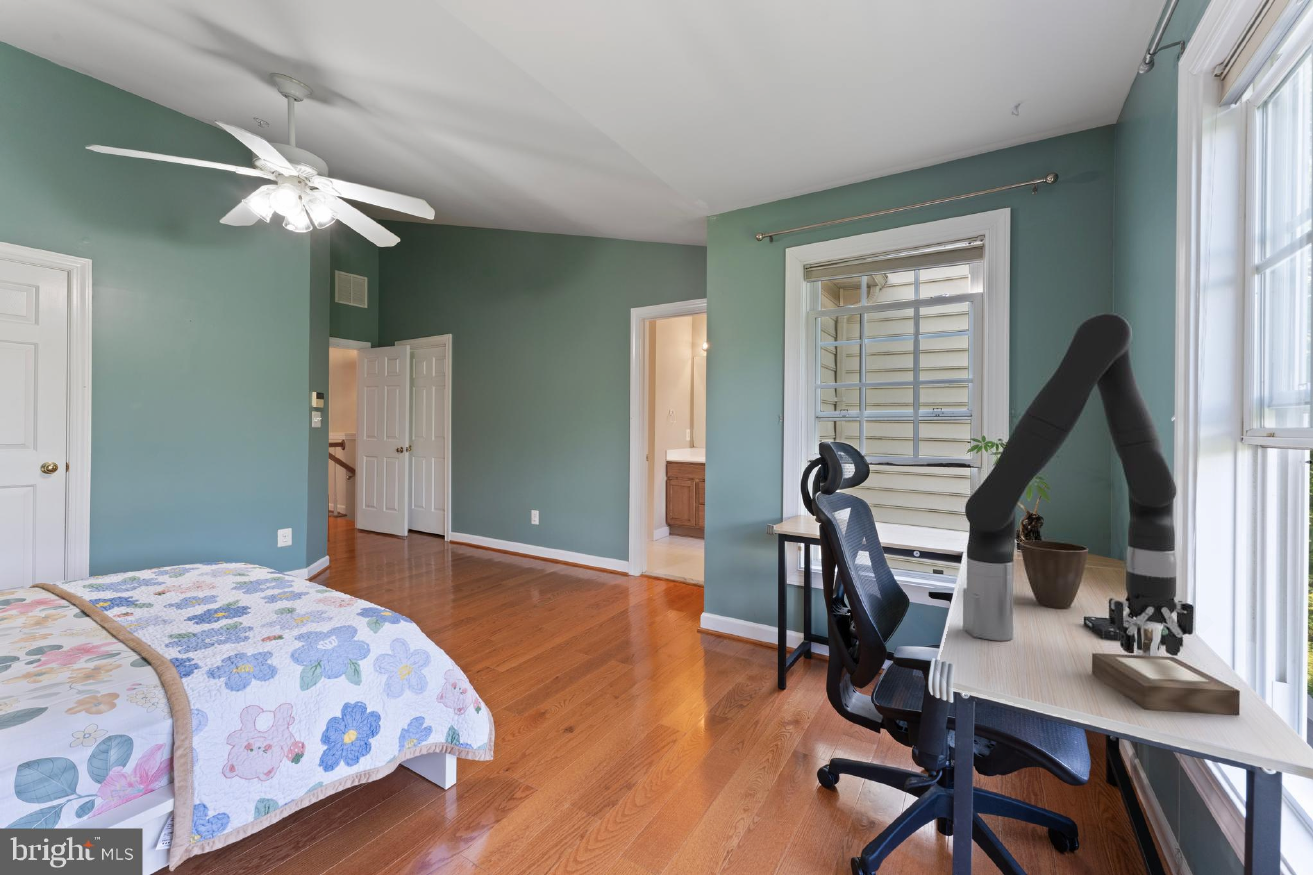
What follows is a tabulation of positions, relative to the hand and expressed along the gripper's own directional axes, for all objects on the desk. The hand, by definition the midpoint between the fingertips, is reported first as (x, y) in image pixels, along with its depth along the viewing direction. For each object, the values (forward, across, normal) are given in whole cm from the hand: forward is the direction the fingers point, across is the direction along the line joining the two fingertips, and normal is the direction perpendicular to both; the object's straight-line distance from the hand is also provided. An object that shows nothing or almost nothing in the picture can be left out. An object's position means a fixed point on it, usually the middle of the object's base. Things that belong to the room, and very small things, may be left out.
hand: (1149, 652), depth 112 cm
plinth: (+2, -7, -13) cm, 15 cm away
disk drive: (+3, +8, +18) cm, 20 cm away
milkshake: (+3, 0, 0) cm, 3 cm away
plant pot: (+3, +3, +40) cm, 40 cm away
